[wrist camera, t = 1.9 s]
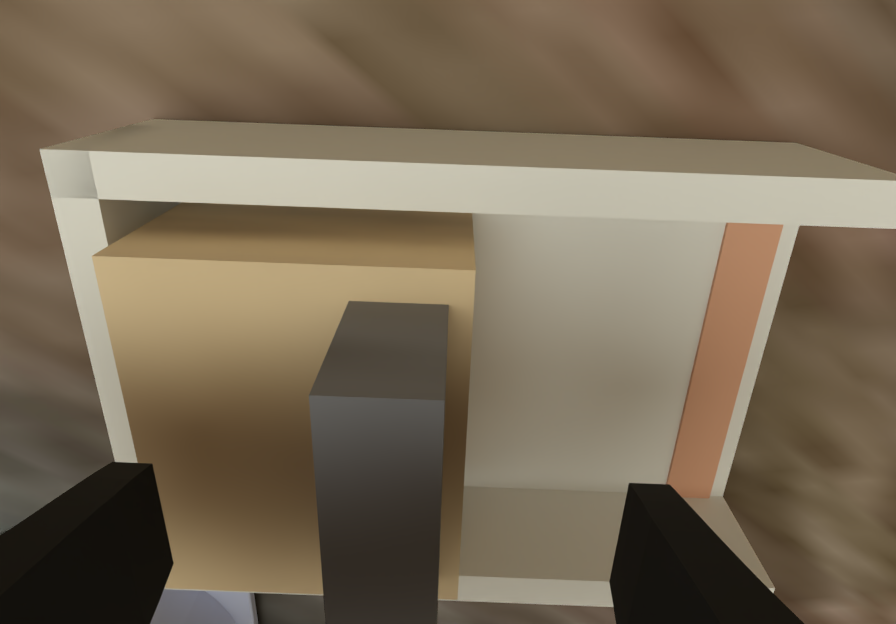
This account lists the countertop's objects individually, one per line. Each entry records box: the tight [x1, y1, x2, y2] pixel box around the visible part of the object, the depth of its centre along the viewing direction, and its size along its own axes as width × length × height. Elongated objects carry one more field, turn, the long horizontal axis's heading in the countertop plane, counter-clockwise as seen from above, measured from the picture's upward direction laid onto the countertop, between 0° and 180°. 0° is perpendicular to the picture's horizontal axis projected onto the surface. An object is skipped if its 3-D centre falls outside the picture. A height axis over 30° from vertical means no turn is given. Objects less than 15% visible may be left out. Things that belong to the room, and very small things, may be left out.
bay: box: [40, 119, 896, 607], centre depth 14 cm, size 10×14×4 cm
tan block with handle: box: [92, 202, 476, 624], centre depth 11 cm, size 7×6×7 cm
